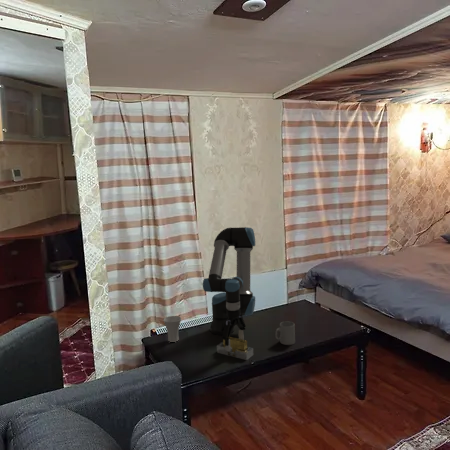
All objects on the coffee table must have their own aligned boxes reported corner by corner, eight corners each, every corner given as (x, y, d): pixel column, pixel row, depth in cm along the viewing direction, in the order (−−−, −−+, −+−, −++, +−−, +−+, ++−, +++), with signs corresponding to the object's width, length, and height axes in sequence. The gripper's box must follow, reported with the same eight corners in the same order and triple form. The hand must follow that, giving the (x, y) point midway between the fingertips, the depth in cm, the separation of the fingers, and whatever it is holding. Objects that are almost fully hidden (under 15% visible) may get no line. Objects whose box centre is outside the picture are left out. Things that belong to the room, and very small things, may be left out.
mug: (290, 338, 244) (289, 320, 242) (297, 343, 236) (297, 325, 234) (272, 341, 239) (271, 323, 238) (279, 347, 231) (279, 328, 230)
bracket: (217, 352, 228) (216, 345, 228) (224, 347, 234) (223, 341, 233) (246, 360, 218) (246, 353, 217) (253, 355, 224) (253, 348, 223)
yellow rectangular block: (223, 349, 228) (223, 337, 227) (226, 347, 230) (226, 335, 229) (244, 355, 220) (244, 342, 219) (247, 353, 223) (246, 340, 222)
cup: (184, 337, 250) (183, 316, 248) (178, 345, 240) (177, 322, 238) (168, 336, 253) (167, 315, 251) (161, 343, 243) (160, 321, 241)
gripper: (226, 317, 210) (228, 356, 213) (251, 302, 231) (252, 338, 234) (214, 314, 214) (216, 353, 218) (239, 300, 235) (240, 335, 238)
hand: (234, 345), depth 226 cm, fingers open, 13 cm apart
